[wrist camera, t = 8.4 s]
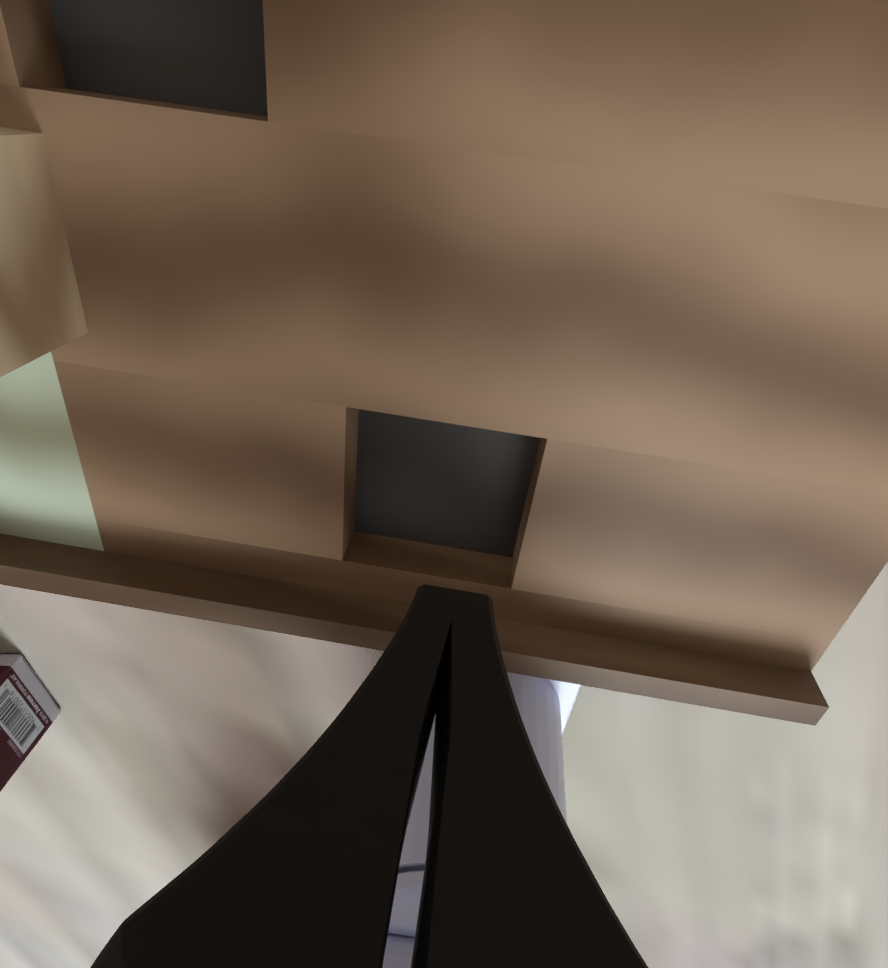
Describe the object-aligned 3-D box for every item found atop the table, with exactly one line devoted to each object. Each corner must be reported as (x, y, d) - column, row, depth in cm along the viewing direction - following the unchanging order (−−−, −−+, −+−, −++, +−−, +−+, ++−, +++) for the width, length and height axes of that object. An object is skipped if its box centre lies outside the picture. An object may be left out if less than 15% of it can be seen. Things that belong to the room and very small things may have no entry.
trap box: (778, 646, 23) (815, 725, 20) (-2, 515, 24) (-75, 571, 21) (1384, -315, 10) (1742, -492, 7) (-387, -500, 11) (-714, -716, 8)
